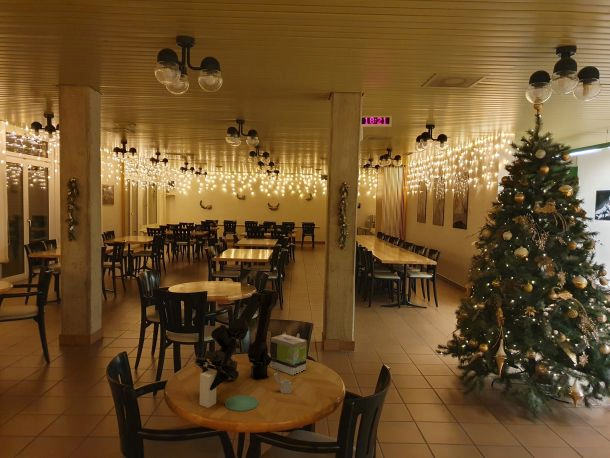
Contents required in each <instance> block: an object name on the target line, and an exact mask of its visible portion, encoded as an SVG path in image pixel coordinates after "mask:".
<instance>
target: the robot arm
mask: <svg viewBox="0 0 610 458" xmlns="http://www.w3.org/2000/svg"><path fill="white" fill-rule="evenodd" d="M278 300H279V293H278V291H277V290H272V289H266V288H264V289H262V290H260V291H256V292H252V294H251V298H250V299H249V301H248V302H247V304H246V306H245V307H244V308H243V310H242V312H241V314H240V316H239V317H238V318H237V319H236V318H235V320H233V321H232V322H231V323H230V324H229V326H228V327H227V326H226V325H225V324H220V326H217V327H216V328H214V330H212V331H211V333H210V335H211V338H212V340H213V341H214V342H215V343H216V344H217V346H219V347H220V348H219V349H217V350H215V351H214V352H213V351H211V350H210V351H209V350H206V351H205V354H204V357H203V358H202V357H197V359H196V360H195V362H194V364H195V365H196V366H198V367H199V369H201V370H202V373H204V372H206V371H211V372H212V370H213V371H215V372H216V373H217V374H216V377H215V379H214V381H213V383H212V385H211V387H210V390H211V391H212V390H213V389H214V388H216V389H217V387H218V386H220V385H221V384H223V383H224V382H225V381H226V380H229V378H228V377H229V376H230V378H231V379H232V380H234V381H238V378H239V377H240V376H239V373H240V372H239V371H238V370H237V369H235V368H234V367H232V366H228V365H227V364H228V362H229V361H230V362H231V361H232V359H233V358H232V357H233V354H234V353H235V351H236V349H241V347H240V346H241V345H240V341H242V340H245V338H246V337H247V334H248V332H249V329H250V326H249V324H250V323H251V322H252V320H253V318H254V316H255V314H256V313H257V311H258V310H259V308H260V311H259V317H258V322H257V327H256V332H255V338H254V340H253V342H252V343H249V345H248V349H247V358H248V362H249V363H251V364H252V365H251V367H250V376H251V377H252V378H253V379H255V380H263V379H267V378H269V377H270V376H269V375H268V367H269V366H270V363H271V358H270V356H271V355H269V354H268V353H269V352H268V351H269V348H268V345H267V337H268V330H269V327H270V321H271V316H272V311H273V309H274V308H275V307H276V306H277V303H278ZM236 340H240V341H236Z"/></svg>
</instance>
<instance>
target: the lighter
mask: <svg viewBox="0 0 610 458" xmlns="http://www.w3.org/2000/svg"><path fill="white" fill-rule="evenodd" d="M273 376H274V378H275V380H276V383H277V384H278V385H279V384H280V393H281V394H291V393H292V392H291V389H292V382H291V381H290V380H289V379H283V380H282V379H281V377H280V374H279V373H278V372H274V374H273Z"/></svg>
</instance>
